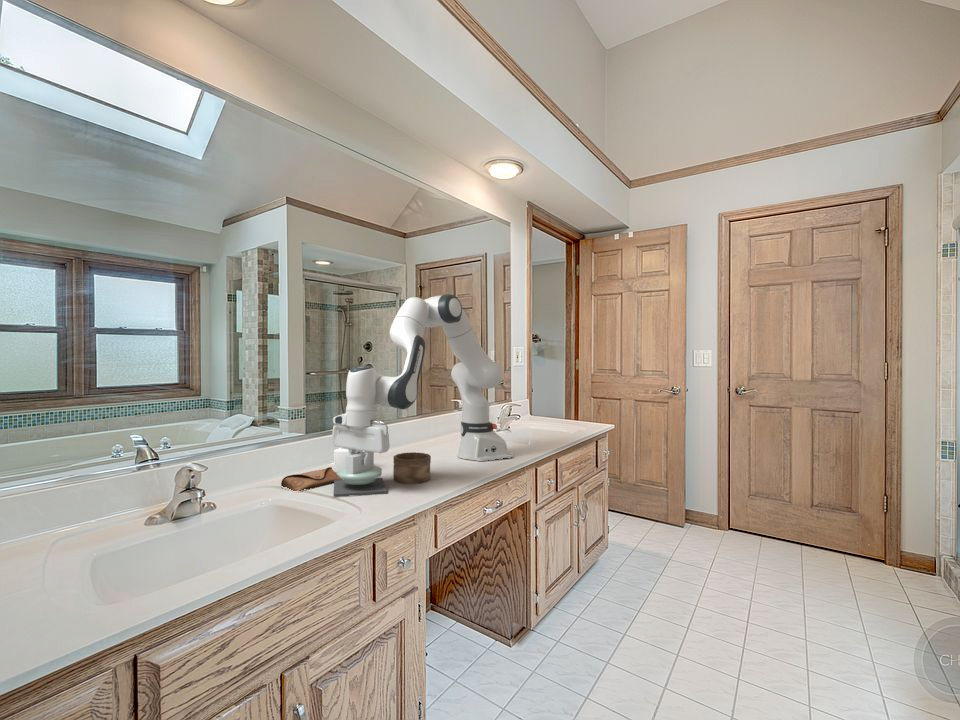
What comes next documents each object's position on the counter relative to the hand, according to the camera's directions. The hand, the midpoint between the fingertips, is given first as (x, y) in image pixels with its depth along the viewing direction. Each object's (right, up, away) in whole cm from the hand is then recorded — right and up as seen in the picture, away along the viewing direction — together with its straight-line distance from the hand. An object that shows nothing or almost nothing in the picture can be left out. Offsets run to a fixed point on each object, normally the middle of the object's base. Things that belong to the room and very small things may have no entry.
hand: (360, 464), depth 140 cm
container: (-10, -7, +21) cm, 24 cm away
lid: (0, -5, 0) cm, 5 cm away
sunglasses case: (-15, -8, +4) cm, 17 cm away
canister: (+14, -8, +12) cm, 20 cm away
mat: (0, -7, 0) cm, 7 cm away
